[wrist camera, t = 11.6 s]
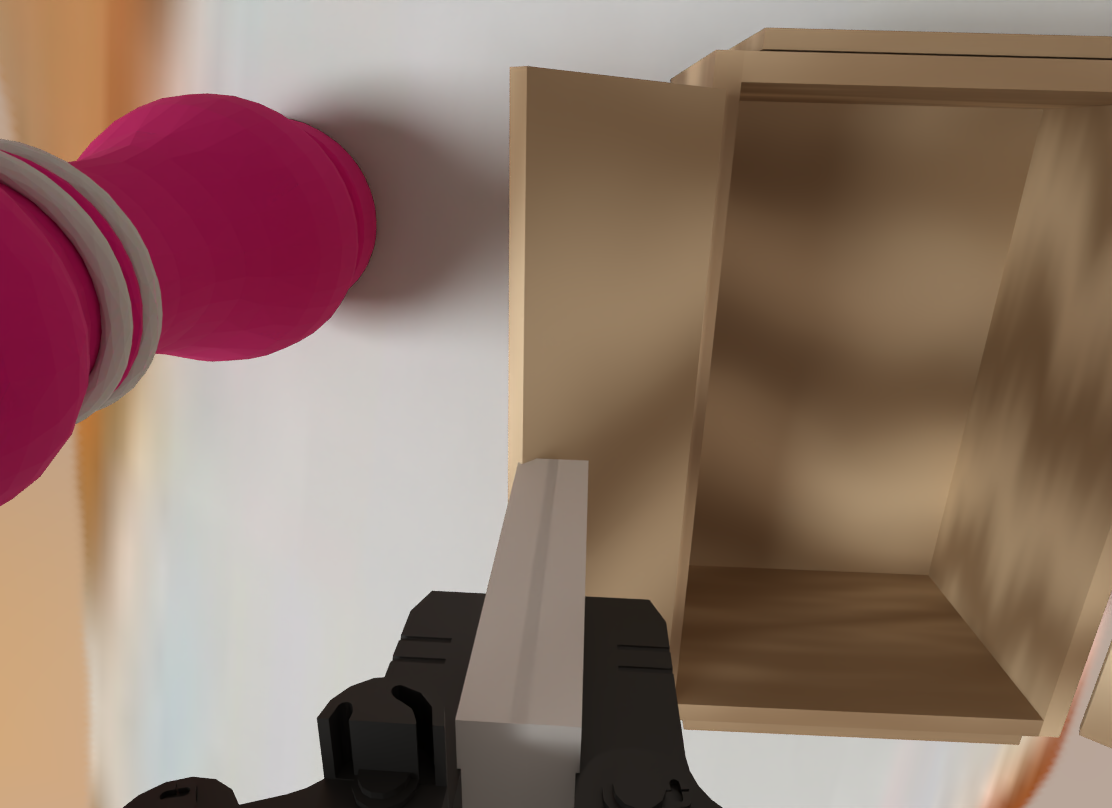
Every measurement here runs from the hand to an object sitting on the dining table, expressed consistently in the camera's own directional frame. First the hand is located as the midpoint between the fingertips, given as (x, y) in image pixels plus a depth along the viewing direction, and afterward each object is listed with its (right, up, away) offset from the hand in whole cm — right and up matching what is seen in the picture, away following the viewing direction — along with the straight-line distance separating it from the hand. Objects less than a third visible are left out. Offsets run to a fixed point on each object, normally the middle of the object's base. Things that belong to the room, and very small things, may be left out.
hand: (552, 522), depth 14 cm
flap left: (+1, 0, +2) cm, 2 cm away
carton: (+9, +4, +12) cm, 15 cm away
